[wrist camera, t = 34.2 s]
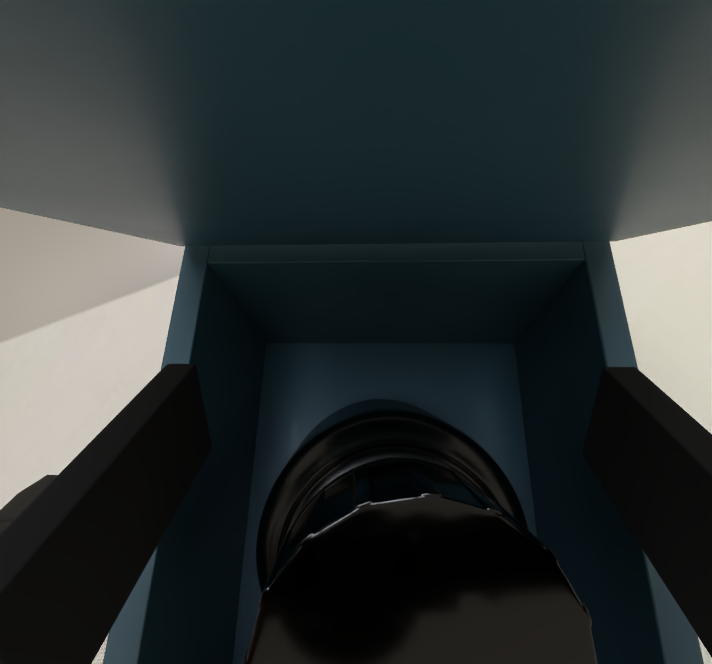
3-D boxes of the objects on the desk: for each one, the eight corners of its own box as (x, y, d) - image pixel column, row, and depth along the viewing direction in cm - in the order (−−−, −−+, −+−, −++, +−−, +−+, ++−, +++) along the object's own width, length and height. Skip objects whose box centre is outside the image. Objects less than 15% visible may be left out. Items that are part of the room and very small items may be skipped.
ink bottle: (379, 642, 19) (423, 1083, 7) (240, 506, 20) (70, 714, 8) (519, 481, 20) (766, 645, 8) (381, 353, 21) (422, 330, 9)
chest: (574, 721, 18) (769, 949, 9) (213, 700, 19) (57, 886, 10) (524, 333, 25) (609, 235, 16) (256, 333, 26) (185, 241, 17)
